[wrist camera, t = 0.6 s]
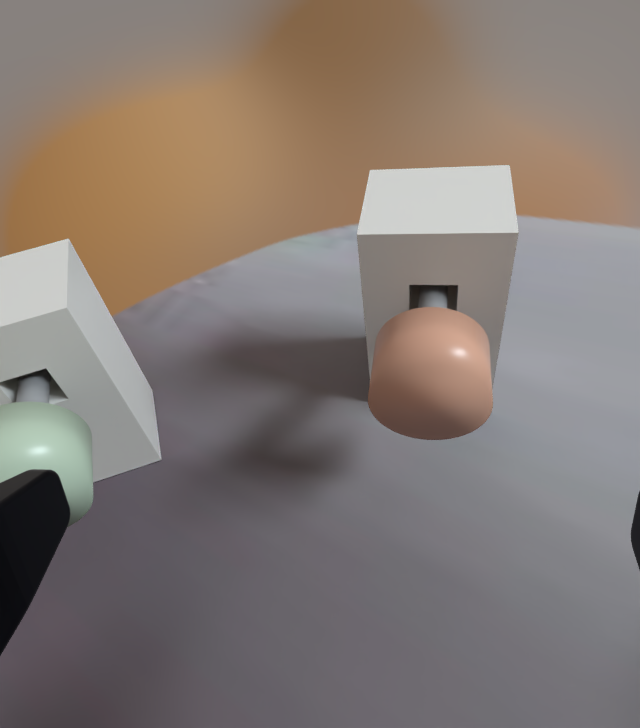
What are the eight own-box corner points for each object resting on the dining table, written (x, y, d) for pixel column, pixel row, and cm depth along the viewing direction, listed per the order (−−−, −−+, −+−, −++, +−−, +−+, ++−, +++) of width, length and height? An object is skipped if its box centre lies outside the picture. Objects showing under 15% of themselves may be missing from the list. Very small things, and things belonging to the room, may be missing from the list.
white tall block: (489, 407, 28) (518, 232, 20) (371, 401, 29) (357, 234, 21) (485, 338, 31) (509, 165, 23) (380, 335, 32) (370, 170, 24)
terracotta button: (486, 443, 21) (499, 365, 17) (371, 436, 22) (363, 361, 18) (480, 325, 25) (491, 246, 22) (385, 323, 26) (381, 246, 23)
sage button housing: (161, 459, 28) (66, 307, 20) (44, 498, 27) (-99, 355, 20) (152, 391, 31) (68, 238, 24) (48, 424, 31) (-73, 277, 23)
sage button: (112, 512, 21) (57, 448, 17) (-5, 552, 20) (-83, 492, 17) (107, 391, 25) (62, 322, 22) (10, 421, 25) (-50, 355, 21)
